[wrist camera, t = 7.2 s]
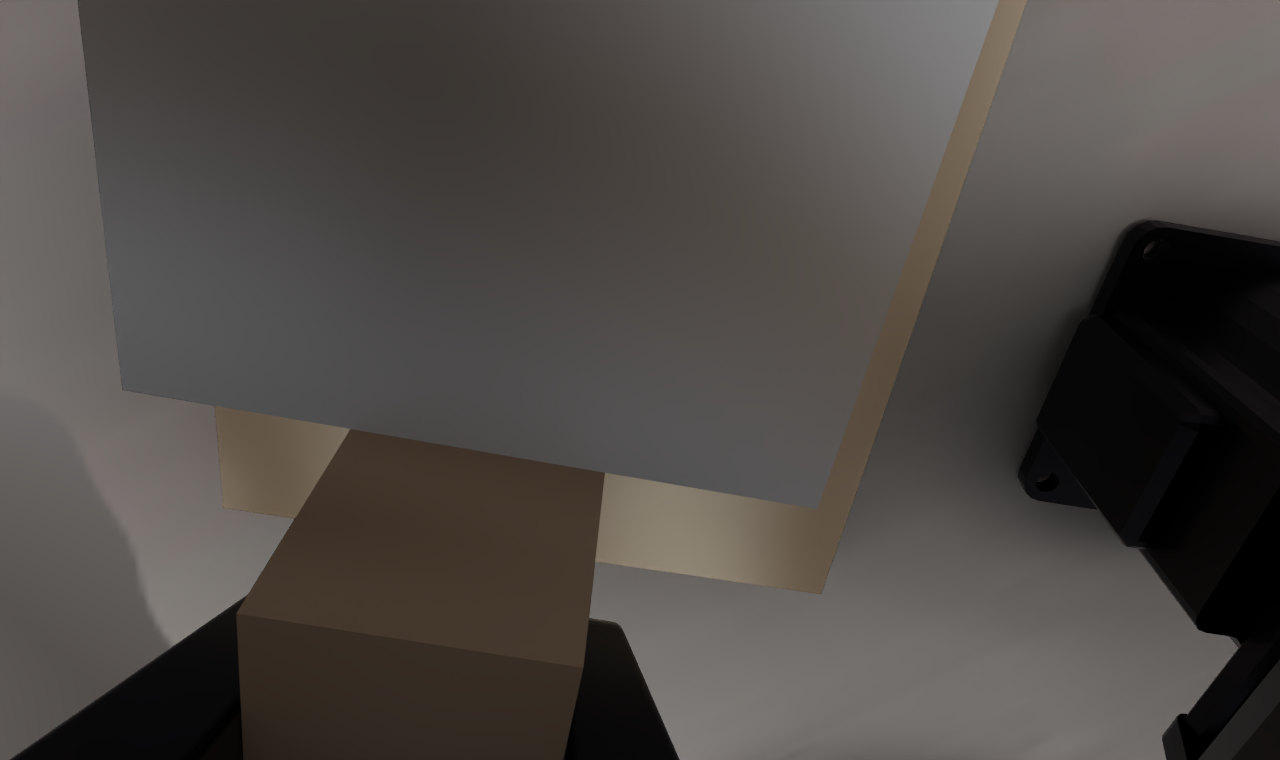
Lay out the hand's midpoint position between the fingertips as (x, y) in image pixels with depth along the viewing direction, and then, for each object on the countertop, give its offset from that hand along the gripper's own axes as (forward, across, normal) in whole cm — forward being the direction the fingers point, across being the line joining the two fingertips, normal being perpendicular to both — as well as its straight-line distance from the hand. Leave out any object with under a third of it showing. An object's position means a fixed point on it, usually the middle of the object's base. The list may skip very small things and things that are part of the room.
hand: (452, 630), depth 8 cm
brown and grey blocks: (+1, 0, -2) cm, 2 cm away
